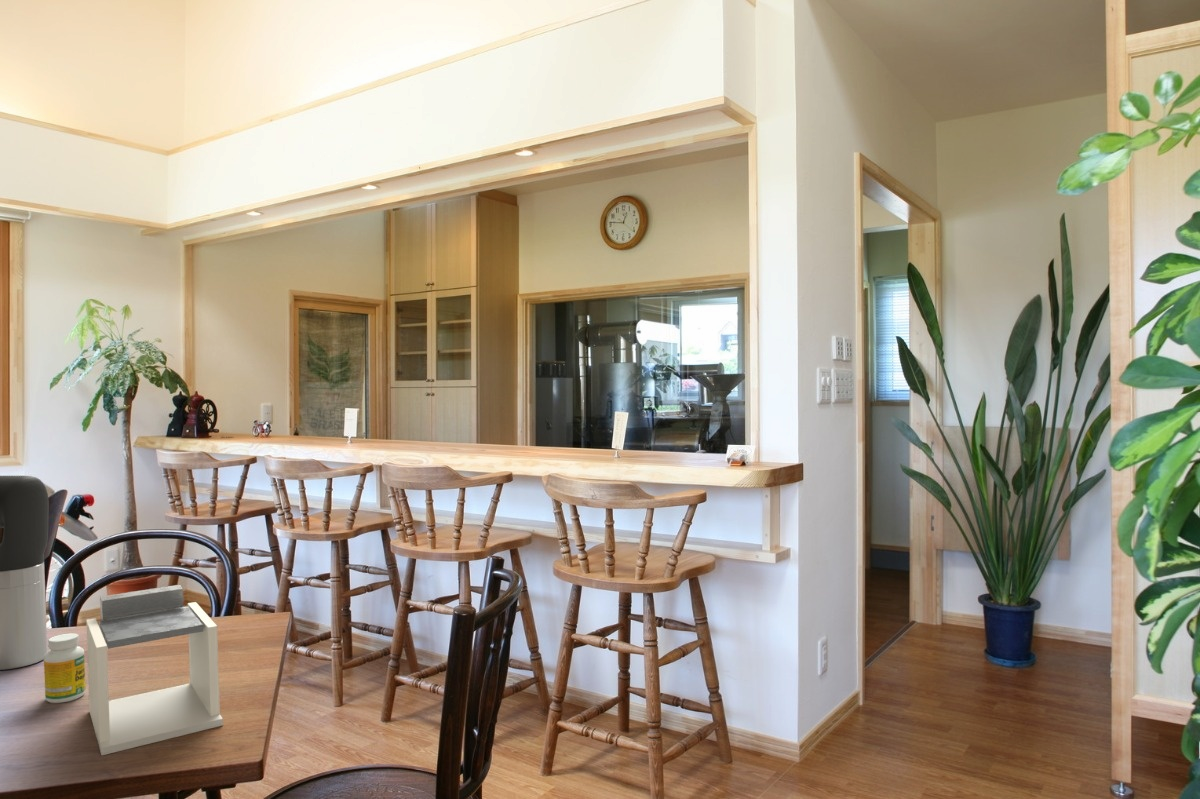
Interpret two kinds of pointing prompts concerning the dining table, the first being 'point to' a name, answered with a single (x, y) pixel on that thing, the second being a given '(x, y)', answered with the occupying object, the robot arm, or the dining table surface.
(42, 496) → the robot arm
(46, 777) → the dining table surface
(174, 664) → the dining table surface
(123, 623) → the trapdoor
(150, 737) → the trapdoor stand
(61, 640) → the supplement bottle
